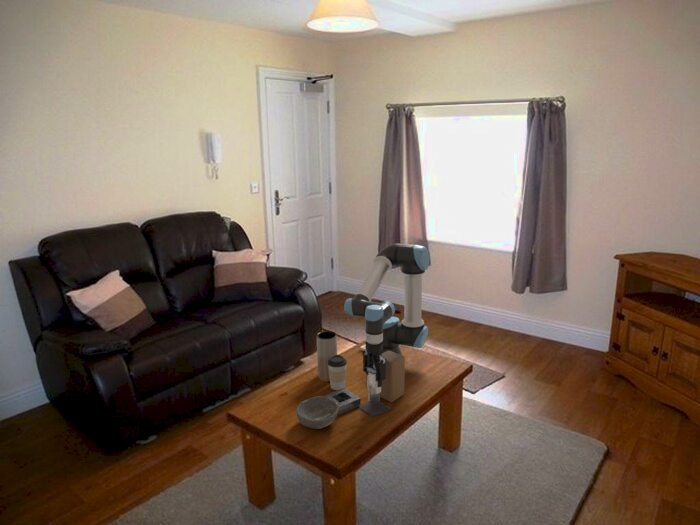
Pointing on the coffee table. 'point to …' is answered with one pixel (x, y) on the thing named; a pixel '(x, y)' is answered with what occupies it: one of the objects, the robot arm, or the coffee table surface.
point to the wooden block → (393, 376)
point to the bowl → (317, 412)
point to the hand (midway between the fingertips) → (374, 390)
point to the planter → (325, 352)
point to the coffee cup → (337, 372)
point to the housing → (344, 394)
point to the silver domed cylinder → (372, 386)
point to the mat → (374, 408)
